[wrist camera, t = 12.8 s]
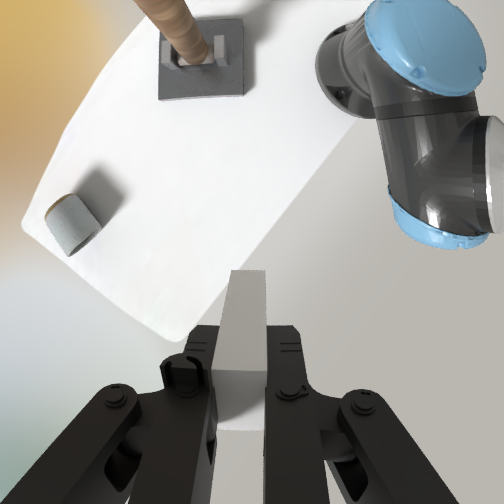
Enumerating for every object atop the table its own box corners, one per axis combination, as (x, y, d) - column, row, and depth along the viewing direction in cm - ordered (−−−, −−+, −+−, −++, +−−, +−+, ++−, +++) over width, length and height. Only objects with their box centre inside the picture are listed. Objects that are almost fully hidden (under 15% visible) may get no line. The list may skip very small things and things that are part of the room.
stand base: (242, 23, 38) (239, 5, 31) (243, 96, 42) (239, 89, 35) (163, 29, 38) (148, 15, 32) (162, 101, 43) (146, 96, 36)
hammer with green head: (216, 45, 37) (169, -64, 12) (216, 67, 38) (163, -30, 13) (181, 47, 37) (103, -48, 13) (180, 70, 39) (95, -13, 14)
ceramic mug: (80, 186, 47) (55, 196, 40) (109, 222, 49) (87, 237, 42) (49, 224, 50) (25, 237, 43) (76, 257, 52) (54, 275, 45)
